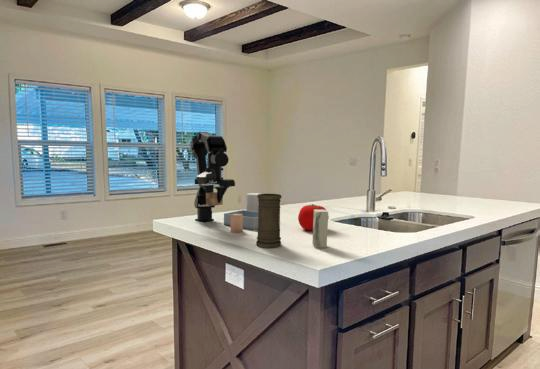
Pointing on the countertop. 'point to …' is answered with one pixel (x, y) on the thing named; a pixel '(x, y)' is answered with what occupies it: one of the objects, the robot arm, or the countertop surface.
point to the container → (269, 221)
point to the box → (320, 228)
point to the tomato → (308, 216)
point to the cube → (212, 199)
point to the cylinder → (236, 223)
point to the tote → (244, 219)
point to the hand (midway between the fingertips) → (214, 202)
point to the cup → (252, 202)
